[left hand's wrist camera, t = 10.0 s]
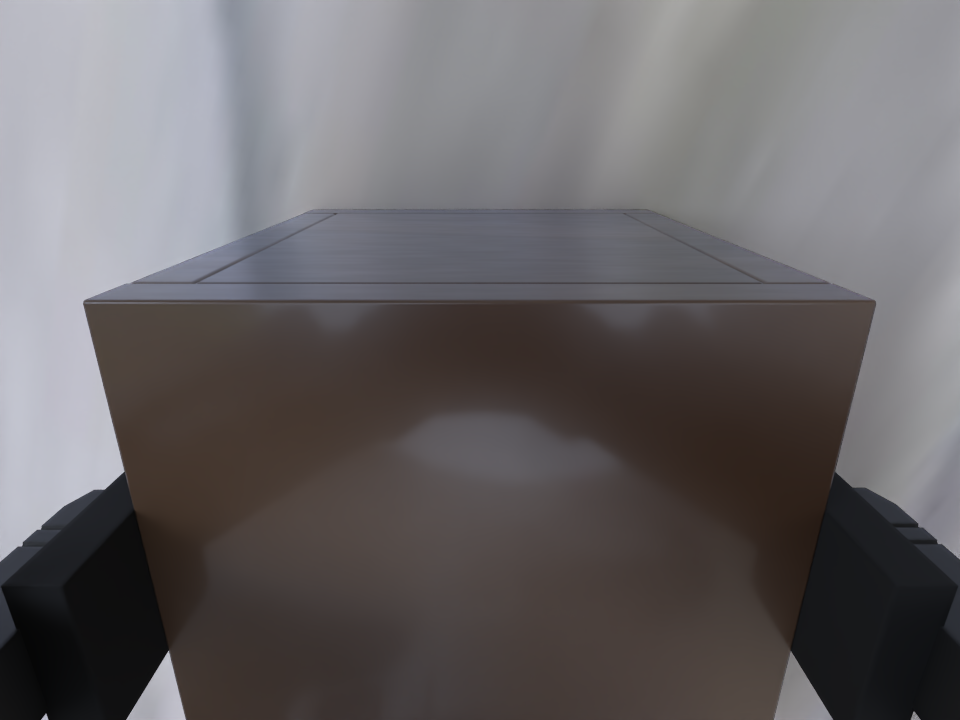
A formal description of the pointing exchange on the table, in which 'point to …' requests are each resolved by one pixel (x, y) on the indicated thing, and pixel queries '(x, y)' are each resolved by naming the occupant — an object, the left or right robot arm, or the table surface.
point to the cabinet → (479, 464)
